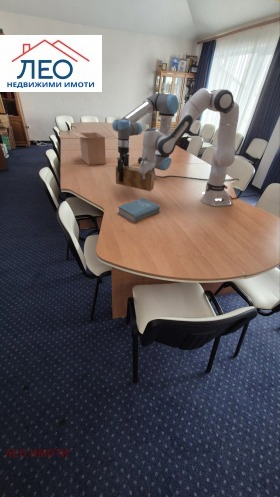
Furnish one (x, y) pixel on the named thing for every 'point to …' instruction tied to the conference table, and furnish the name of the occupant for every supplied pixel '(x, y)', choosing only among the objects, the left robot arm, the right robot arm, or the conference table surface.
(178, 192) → the conference table surface
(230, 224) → the conference table surface
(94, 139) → the box
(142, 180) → the long box
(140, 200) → the book
